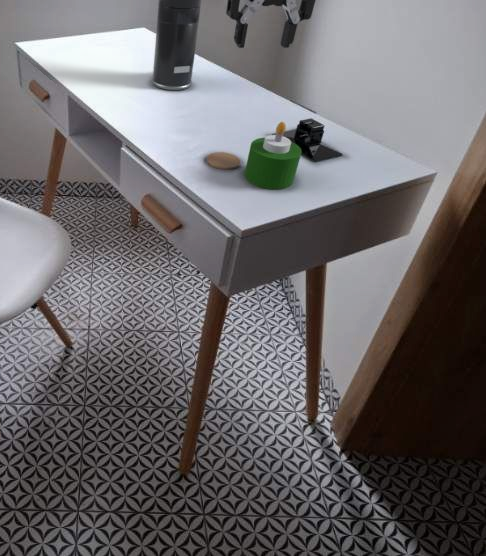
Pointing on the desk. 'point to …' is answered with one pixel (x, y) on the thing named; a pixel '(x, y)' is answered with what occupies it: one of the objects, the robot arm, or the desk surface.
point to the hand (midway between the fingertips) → (262, 46)
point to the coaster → (223, 160)
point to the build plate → (311, 140)
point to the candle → (273, 161)
